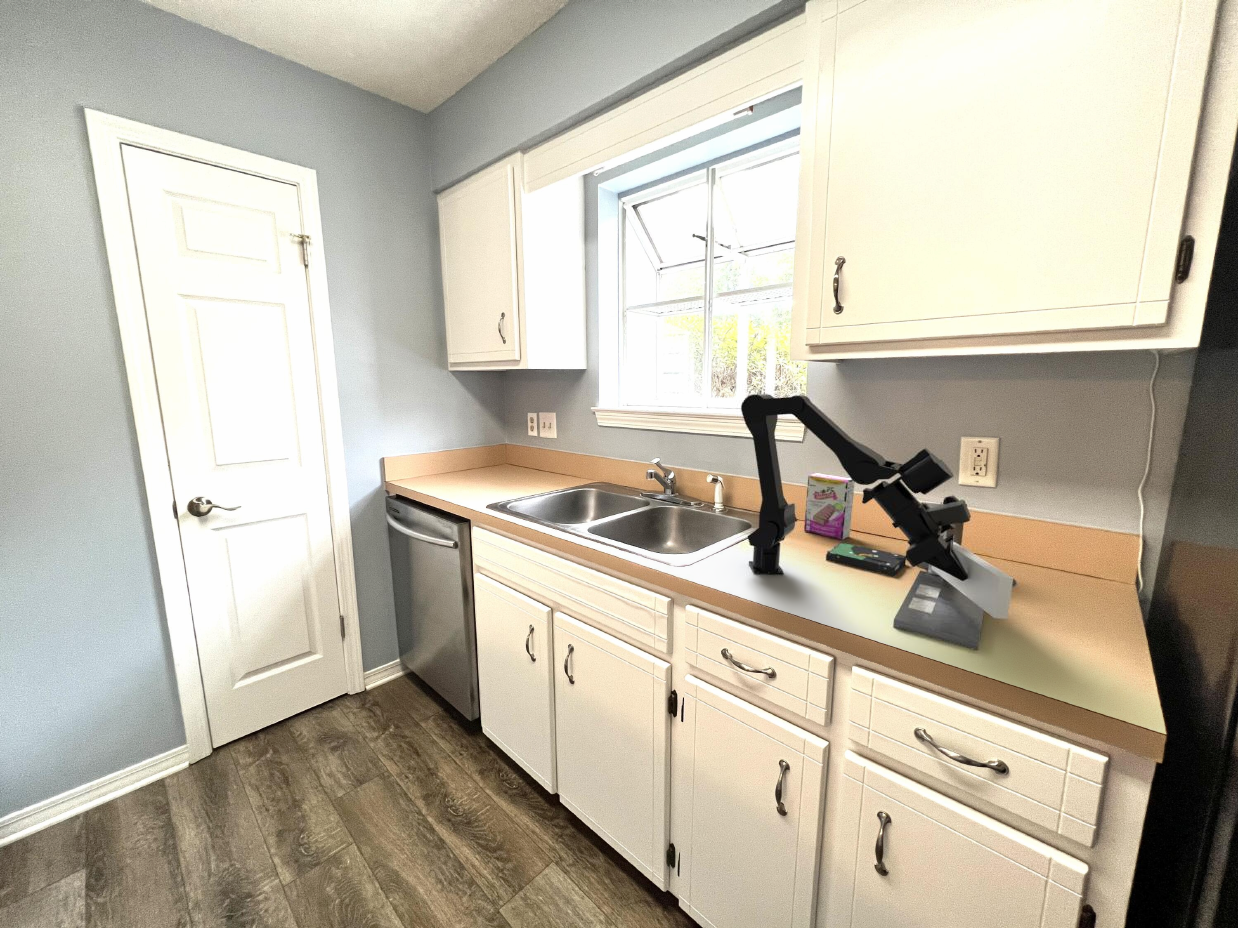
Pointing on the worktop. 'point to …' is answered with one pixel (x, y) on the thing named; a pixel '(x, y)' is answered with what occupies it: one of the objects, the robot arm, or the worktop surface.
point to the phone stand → (940, 612)
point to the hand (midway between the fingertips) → (965, 579)
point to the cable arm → (981, 583)
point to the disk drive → (866, 558)
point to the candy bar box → (829, 505)
